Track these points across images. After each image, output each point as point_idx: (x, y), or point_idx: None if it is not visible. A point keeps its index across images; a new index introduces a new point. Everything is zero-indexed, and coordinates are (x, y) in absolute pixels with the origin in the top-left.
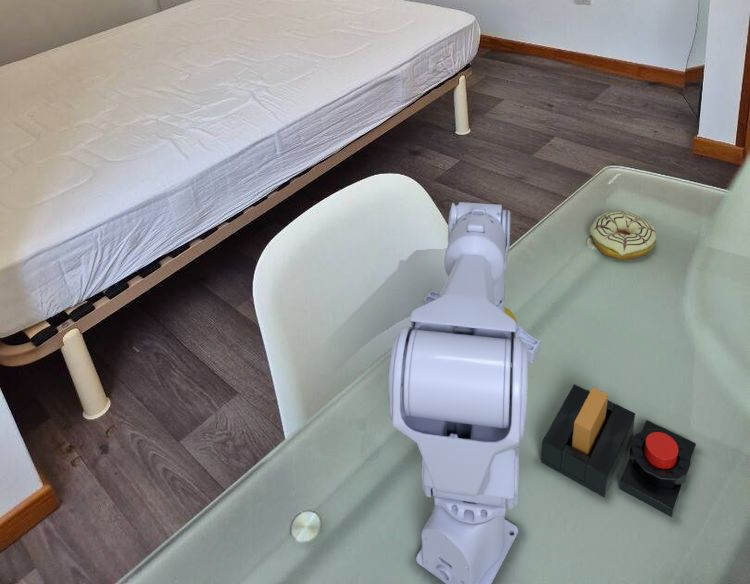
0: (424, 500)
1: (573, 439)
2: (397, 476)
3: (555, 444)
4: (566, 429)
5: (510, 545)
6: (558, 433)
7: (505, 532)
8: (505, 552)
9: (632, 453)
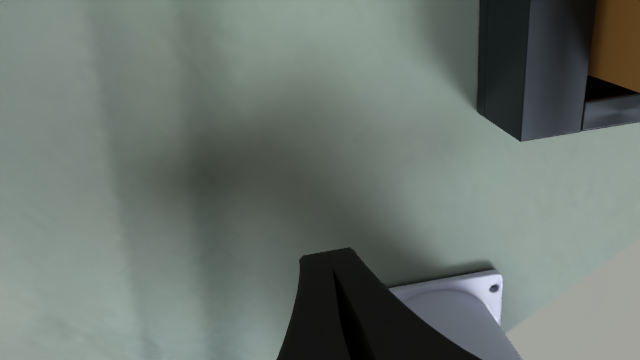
0: None
1: (607, 80)
2: (229, 348)
3: (557, 124)
4: (572, 55)
5: (501, 304)
6: (554, 85)
7: (483, 296)
8: (499, 320)
9: None
